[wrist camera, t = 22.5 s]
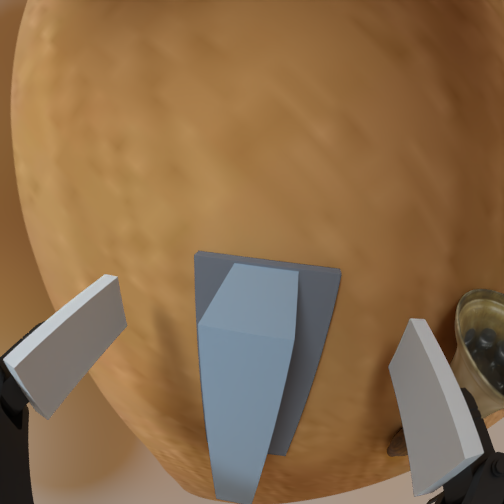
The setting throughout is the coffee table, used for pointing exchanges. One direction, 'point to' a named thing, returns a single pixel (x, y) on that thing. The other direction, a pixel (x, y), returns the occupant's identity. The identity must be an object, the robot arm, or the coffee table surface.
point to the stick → (245, 372)
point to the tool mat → (306, 331)
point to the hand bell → (475, 354)
